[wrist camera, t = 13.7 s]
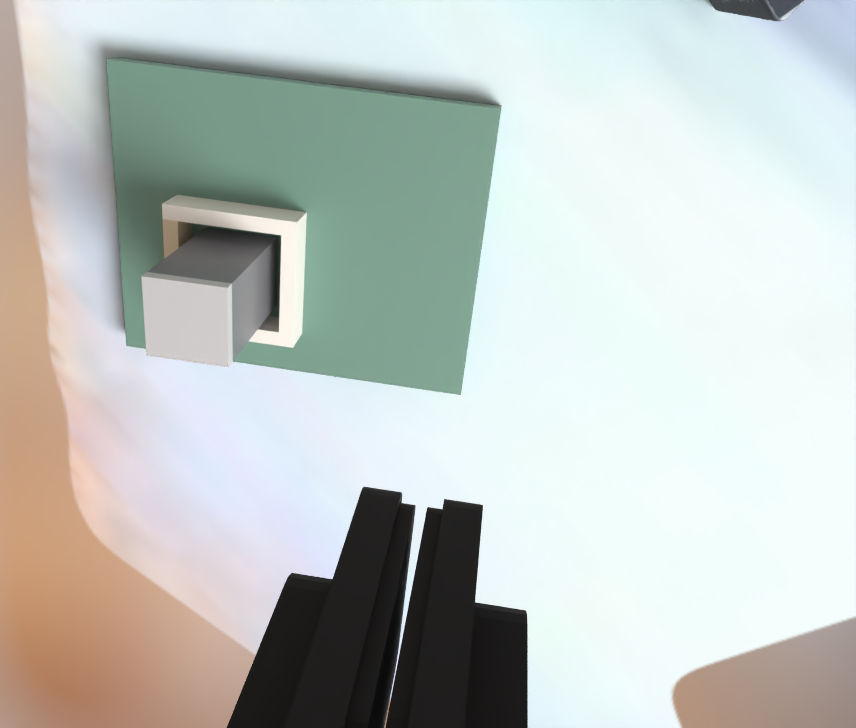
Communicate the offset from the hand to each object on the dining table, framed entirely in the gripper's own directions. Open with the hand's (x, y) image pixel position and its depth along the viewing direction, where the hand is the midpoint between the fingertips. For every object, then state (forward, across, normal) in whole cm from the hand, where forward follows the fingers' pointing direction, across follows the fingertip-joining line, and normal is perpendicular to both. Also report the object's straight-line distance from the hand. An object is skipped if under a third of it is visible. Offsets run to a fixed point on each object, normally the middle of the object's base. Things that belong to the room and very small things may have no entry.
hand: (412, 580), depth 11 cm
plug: (+32, +13, +8) cm, 35 cm away
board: (+33, +10, +6) cm, 35 cm away
